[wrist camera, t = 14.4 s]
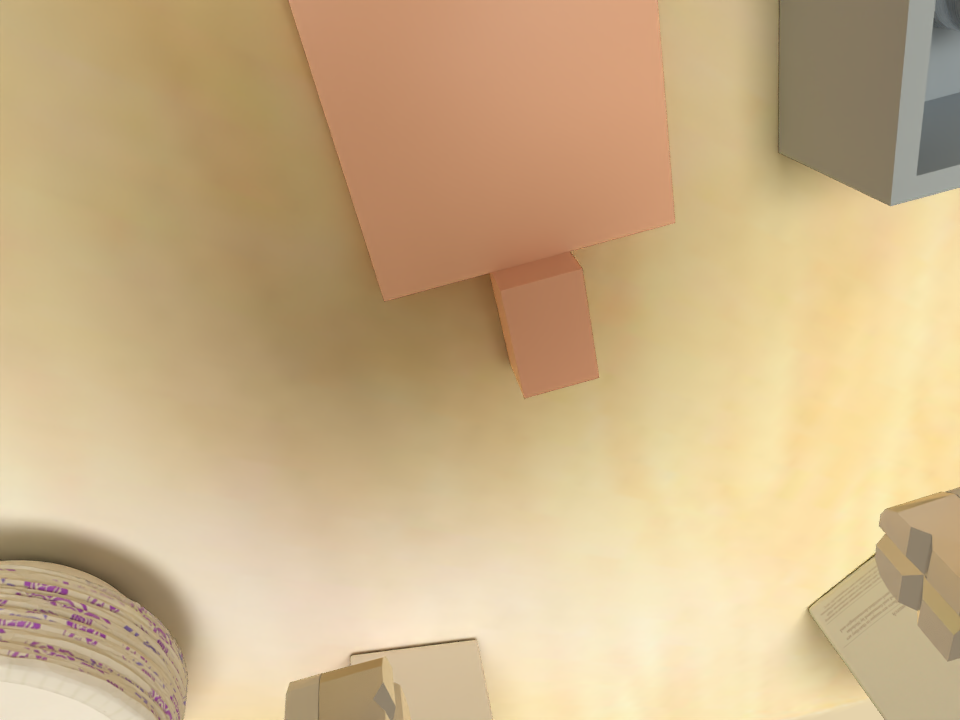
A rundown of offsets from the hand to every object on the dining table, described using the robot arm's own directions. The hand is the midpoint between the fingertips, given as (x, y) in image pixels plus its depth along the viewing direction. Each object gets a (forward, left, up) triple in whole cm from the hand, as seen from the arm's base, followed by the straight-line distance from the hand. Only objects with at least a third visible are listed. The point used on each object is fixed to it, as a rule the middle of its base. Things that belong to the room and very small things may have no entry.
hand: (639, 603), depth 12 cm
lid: (-3, +2, -20) cm, 20 cm away
